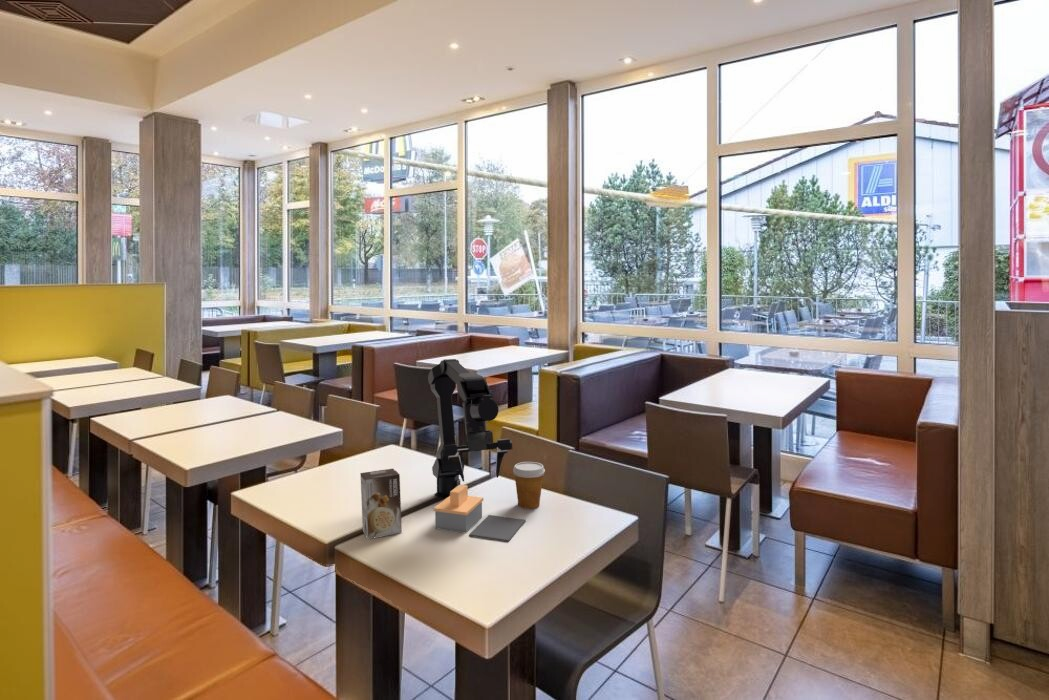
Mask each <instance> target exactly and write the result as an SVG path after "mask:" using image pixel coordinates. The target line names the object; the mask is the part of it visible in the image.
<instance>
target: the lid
mask: <svg viewBox="0 0 1049 700" xmlns="http://www.w3.org/2000/svg"><path fill="white" fill-rule="evenodd" d="M468 486H469V485H463V484H460V485H458V486H457V487H456V488H454V489H453V490H452V491H450V496H449V497H445V499H444V500H442V501H441V502H440V503H438V504H437V505H436V506H435V507H434V508H433V512H435V511H438V512H445V513H452V514H460V515H468V514H469V513H470V512H471V511H472V510H473V509H474V508H475V507H477V506H478V505H479V504H480V503H481V502H482V503H483V502H484V497H481V496H473V495H469V494H468V491H469V488H468Z"/></svg>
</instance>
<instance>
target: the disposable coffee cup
mask: <svg viewBox="0 0 1049 700" xmlns="http://www.w3.org/2000/svg"><path fill="white" fill-rule="evenodd" d="M512 472H513V474H514V480H515V487H516V489H515V490H516V496H517V502H518V503H517V504H518V507H519V508H521V509H525V510H533V509H537V508H539V507H540V503H541V494H542V489H543V488H542V487H543V481H544V475H545V472H546V470H545V468H544V465H543V463H540V462H535V461H521V462H518V463H516V464H515V465H514V467H513V469H512Z"/></svg>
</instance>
